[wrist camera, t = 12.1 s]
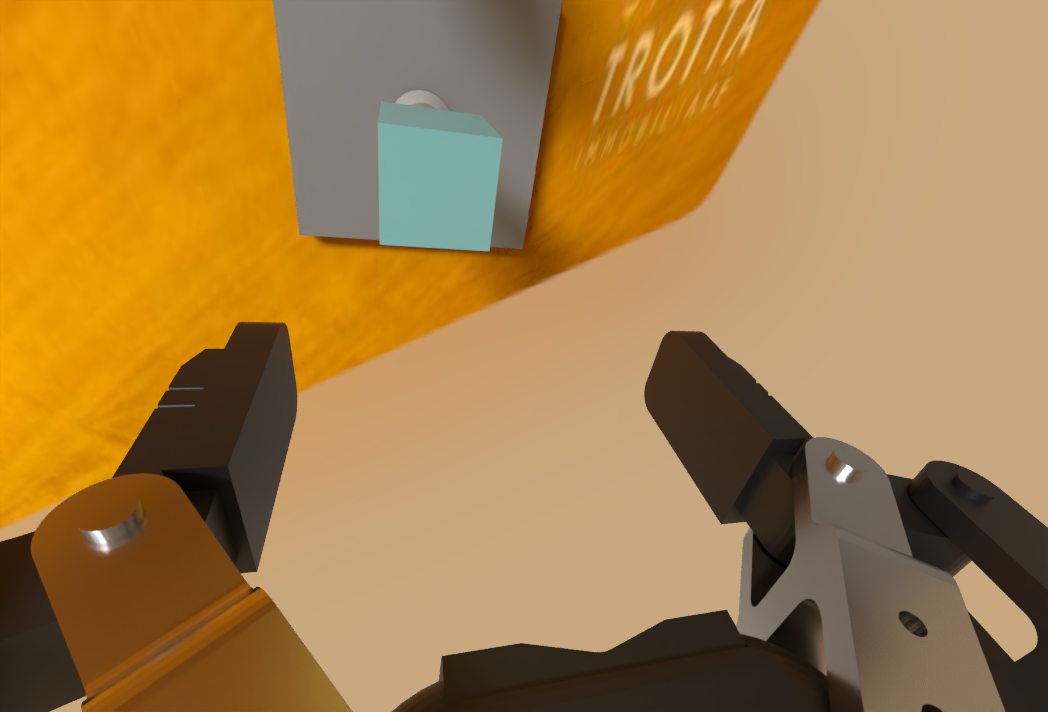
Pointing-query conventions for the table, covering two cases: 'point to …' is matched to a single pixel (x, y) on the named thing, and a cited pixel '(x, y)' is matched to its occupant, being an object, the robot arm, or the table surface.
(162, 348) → the table surface
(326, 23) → the post stand
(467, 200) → the teal cube
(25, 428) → the table surface
